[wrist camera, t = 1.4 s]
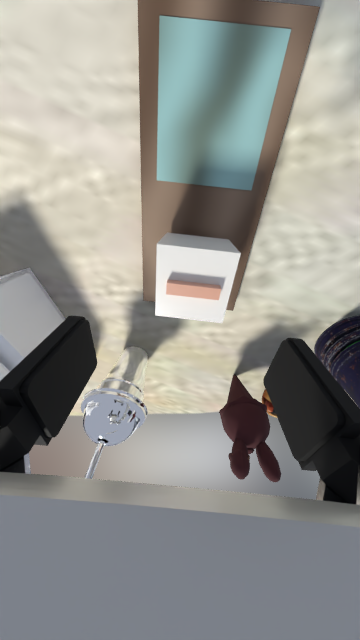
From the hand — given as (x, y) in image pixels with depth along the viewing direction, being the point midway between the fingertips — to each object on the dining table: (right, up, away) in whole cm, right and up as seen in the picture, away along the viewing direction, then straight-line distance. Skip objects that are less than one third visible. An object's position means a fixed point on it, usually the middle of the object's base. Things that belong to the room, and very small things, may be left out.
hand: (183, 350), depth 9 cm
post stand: (+2, +14, +10) cm, 17 cm away
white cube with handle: (+1, +7, +12) cm, 14 cm away
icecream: (+10, -8, +24) cm, 27 cm away
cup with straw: (-8, -5, +23) cm, 25 cm away
